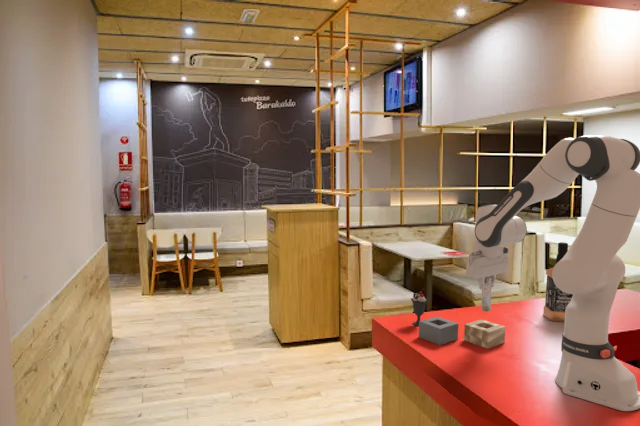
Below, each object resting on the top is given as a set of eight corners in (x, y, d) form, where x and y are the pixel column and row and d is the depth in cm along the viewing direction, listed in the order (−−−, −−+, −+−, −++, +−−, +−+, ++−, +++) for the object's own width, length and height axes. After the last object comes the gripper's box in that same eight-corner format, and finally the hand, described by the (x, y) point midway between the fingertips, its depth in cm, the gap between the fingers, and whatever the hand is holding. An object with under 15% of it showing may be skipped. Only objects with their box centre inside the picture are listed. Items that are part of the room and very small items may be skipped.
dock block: (457, 339, 176) (458, 323, 175) (439, 345, 170) (440, 328, 169) (436, 331, 184) (436, 316, 183) (418, 337, 178) (419, 321, 177)
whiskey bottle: (550, 321, 197) (554, 244, 193) (542, 314, 206) (546, 240, 203) (577, 322, 195) (581, 245, 192) (568, 315, 205) (572, 241, 202)
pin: (492, 310, 172) (493, 277, 171) (487, 311, 170) (488, 278, 169) (484, 308, 174) (485, 275, 173) (479, 309, 173) (480, 277, 172)
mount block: (504, 342, 173) (505, 326, 172) (487, 348, 167) (488, 332, 166) (480, 334, 181) (481, 319, 180) (464, 340, 175) (464, 324, 174)
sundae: (427, 327, 189) (428, 290, 187) (410, 326, 190) (410, 289, 188) (427, 322, 195) (428, 286, 194) (410, 321, 196) (411, 285, 195)
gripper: (477, 253, 162) (476, 294, 163) (511, 248, 174) (510, 285, 175) (461, 251, 167) (461, 290, 168) (496, 245, 179) (495, 282, 180)
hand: (486, 287), depth 172 cm, fingers closed on pin, 3 cm apart
